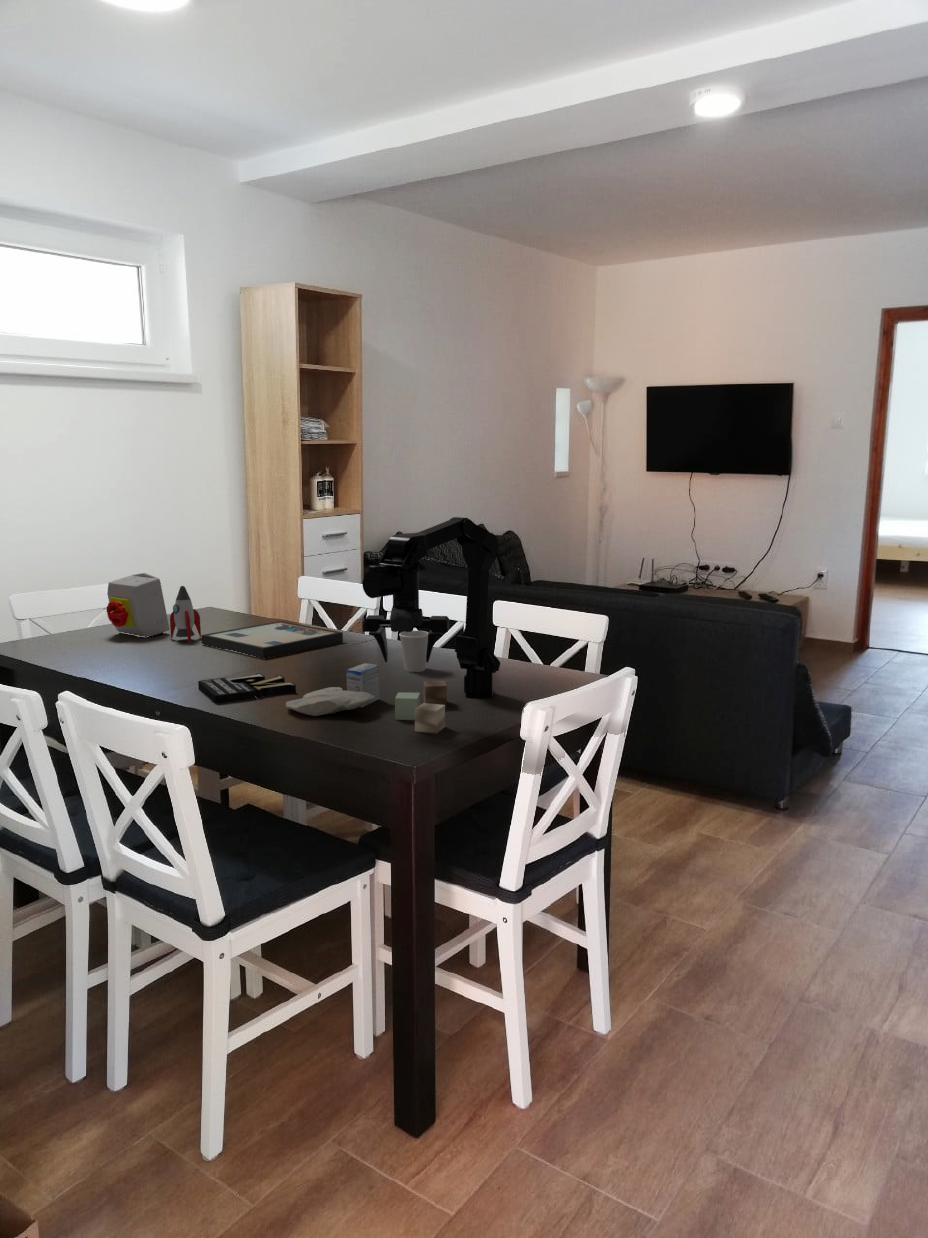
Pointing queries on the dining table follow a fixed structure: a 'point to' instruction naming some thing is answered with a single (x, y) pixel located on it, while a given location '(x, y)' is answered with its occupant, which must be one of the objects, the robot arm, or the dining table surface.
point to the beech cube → (429, 718)
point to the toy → (184, 616)
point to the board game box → (273, 639)
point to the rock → (329, 701)
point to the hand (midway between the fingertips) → (406, 662)
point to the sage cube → (406, 705)
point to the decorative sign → (244, 688)
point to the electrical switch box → (137, 605)
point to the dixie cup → (414, 650)
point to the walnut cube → (435, 692)
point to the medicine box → (364, 680)
